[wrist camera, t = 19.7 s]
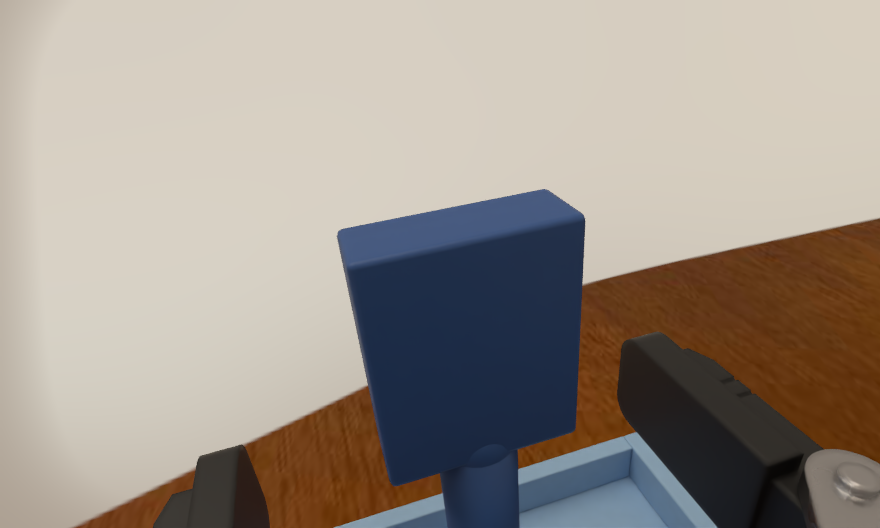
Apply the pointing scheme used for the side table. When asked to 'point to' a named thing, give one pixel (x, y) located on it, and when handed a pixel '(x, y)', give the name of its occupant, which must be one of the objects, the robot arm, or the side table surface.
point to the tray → (580, 494)
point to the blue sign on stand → (469, 342)
